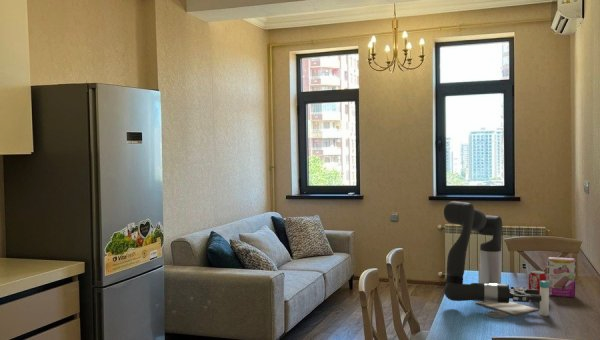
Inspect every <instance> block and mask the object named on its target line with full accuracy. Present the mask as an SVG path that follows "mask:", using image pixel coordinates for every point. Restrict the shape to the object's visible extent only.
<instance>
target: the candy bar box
mask: <svg viewBox="0 0 600 340" xmlns="http://www.w3.org/2000/svg"><path fill="white" fill-rule="evenodd" d="M576 265H577V261H576V258H570V257H558V256H557V257H555V256H548V257H547V271H546V272H547V274H546V278H547V281H549V297H550V296H552V297H560V296H561V297H562V298H564V297H565V298H575V297H576V270H577V269H576V267H577V266H576Z"/></svg>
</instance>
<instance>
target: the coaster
mask: <svg viewBox="0 0 600 340" xmlns="http://www.w3.org/2000/svg"><path fill="white" fill-rule="evenodd" d="M485 314H486V316H487V317H489V318H494V319H506V318H508V317H509V314H507V313H505V312H501V311H497V310H490V311H487V312H486V313H485Z"/></svg>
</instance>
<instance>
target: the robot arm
mask: <svg viewBox="0 0 600 340" xmlns="http://www.w3.org/2000/svg"><path fill="white" fill-rule="evenodd" d="M443 216H444V217H443V218H444V219H445V221H446V222H447V223H449V224H451V225H460V226H461V227H462V229H461V233H460V235H459V236H458V238H457V240H455V242H454V243H453V245H452V246H451V248H450V249H449V251H448V254H447V262H446V277H445V287H444V295H445V297H446V298H447V299H448V300H450V301H453V302H463V301H464V302H466V301H474V302H482V301H486V302H494V303H509V301H510V299H512V302H515V303H530V302H531V301H532V302H540V301H541V295H539V290H535V289H529V287H526V286H510V284H509V283H502V242H503V241H502V240H503V239H502V237H503V219H502V217H500V216H499V215H487V214H485V213H484V212H482V211H481V210H479V209H477V208H475V207H474V205H473V204H472V203H471V202H465V201H456V200H454V201H453V200H452V201H449V202H448V203H446V204H445V206H444V209H443ZM472 231H474V232H477V233H478V234H479V235H483V236H489V237H490V236H492V239H490V240H488V241H484V242H481V243H480V247H479V248H480V250H479V252H480V253H479V254H480V255H479V257H480V258H479V263H480V264H479V265H478V282H477V283H476V282H473V283H467V284H466V283H464V274H465V266H466V258H467V257H466V256H467V250H468V246H469V241H470V238H471V234H472Z"/></svg>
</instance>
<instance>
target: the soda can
mask: <svg viewBox="0 0 600 340" xmlns="http://www.w3.org/2000/svg"><path fill="white" fill-rule="evenodd" d="M540 281H547V274H546V272H545V271H544V270H540V269H539V270H537V269H533V270H530V273H529V275H528V290H529V289H535V290H539V295H540Z"/></svg>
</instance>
